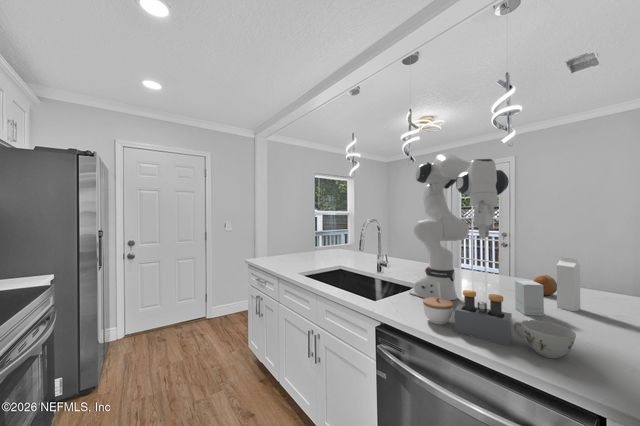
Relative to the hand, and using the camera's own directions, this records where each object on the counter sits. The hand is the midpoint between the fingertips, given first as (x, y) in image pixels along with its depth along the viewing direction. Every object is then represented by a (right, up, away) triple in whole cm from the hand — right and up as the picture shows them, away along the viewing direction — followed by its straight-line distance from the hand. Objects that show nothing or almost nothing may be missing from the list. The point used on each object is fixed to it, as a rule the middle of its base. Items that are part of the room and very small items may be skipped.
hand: (484, 237), depth 101 cm
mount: (-5, -33, -7) cm, 34 cm away
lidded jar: (-15, -34, +5) cm, 37 cm away
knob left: (-8, -28, -4) cm, 30 cm away
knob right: (-2, -28, -10) cm, 30 cm away
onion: (+52, -32, +35) cm, 71 cm away
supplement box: (+26, -33, +12) cm, 44 cm away
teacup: (+6, -33, -19) cm, 39 cm away
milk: (+47, -33, +16) cm, 59 cm away
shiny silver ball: (-5, -25, -7) cm, 27 cm away
